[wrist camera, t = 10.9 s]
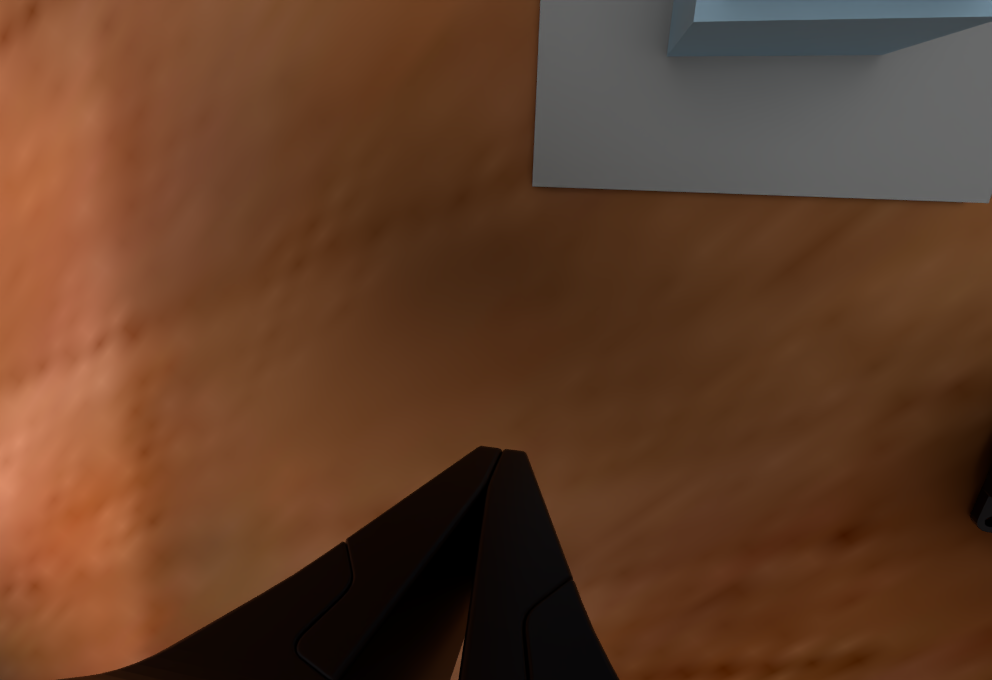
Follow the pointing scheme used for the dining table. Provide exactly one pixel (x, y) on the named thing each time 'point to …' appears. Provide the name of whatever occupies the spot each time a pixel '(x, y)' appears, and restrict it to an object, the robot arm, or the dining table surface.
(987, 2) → the bottom brick
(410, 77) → the dining table surface
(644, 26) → the base mat
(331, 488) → the dining table surface
